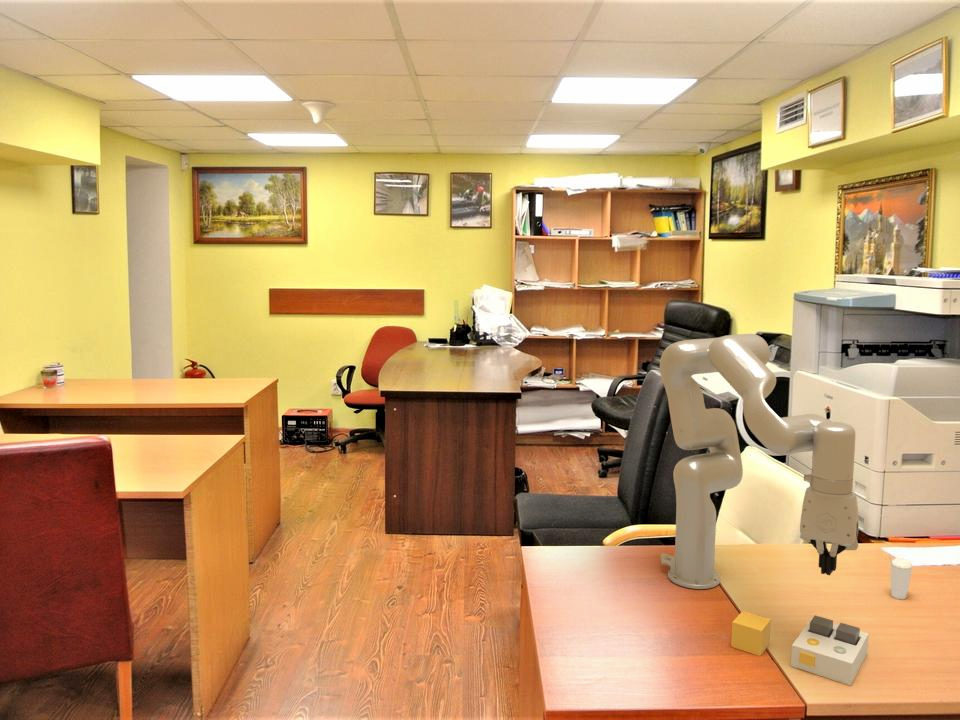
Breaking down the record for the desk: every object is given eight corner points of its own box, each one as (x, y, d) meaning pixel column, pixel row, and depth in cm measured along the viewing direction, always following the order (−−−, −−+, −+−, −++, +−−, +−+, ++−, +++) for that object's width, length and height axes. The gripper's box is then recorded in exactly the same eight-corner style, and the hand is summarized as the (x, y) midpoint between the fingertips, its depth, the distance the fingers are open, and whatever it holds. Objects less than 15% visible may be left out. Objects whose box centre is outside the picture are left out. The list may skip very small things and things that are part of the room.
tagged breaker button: (808, 640, 156) (809, 622, 156) (813, 633, 159) (814, 615, 158) (827, 645, 154) (828, 627, 153) (832, 638, 157) (833, 620, 156)
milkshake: (880, 592, 182) (883, 553, 181) (901, 591, 183) (905, 552, 181) (892, 601, 178) (895, 560, 176) (914, 600, 178) (917, 560, 177)
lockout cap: (731, 646, 159) (732, 622, 158) (741, 634, 163) (742, 610, 163) (760, 656, 155) (761, 631, 154) (769, 643, 160) (771, 619, 159)
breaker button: (834, 648, 153) (836, 629, 153) (839, 640, 156) (840, 622, 155) (854, 654, 151) (855, 635, 150) (858, 646, 154) (859, 628, 153)
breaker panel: (790, 666, 151) (791, 644, 150) (810, 637, 162) (811, 616, 162) (850, 686, 144) (852, 662, 144) (867, 654, 156) (868, 632, 155)
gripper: (787, 482, 153) (783, 569, 155) (868, 496, 144) (863, 588, 146) (797, 473, 159) (794, 557, 161) (877, 486, 150) (871, 575, 152)
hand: (827, 572), depth 154 cm, fingers closed
